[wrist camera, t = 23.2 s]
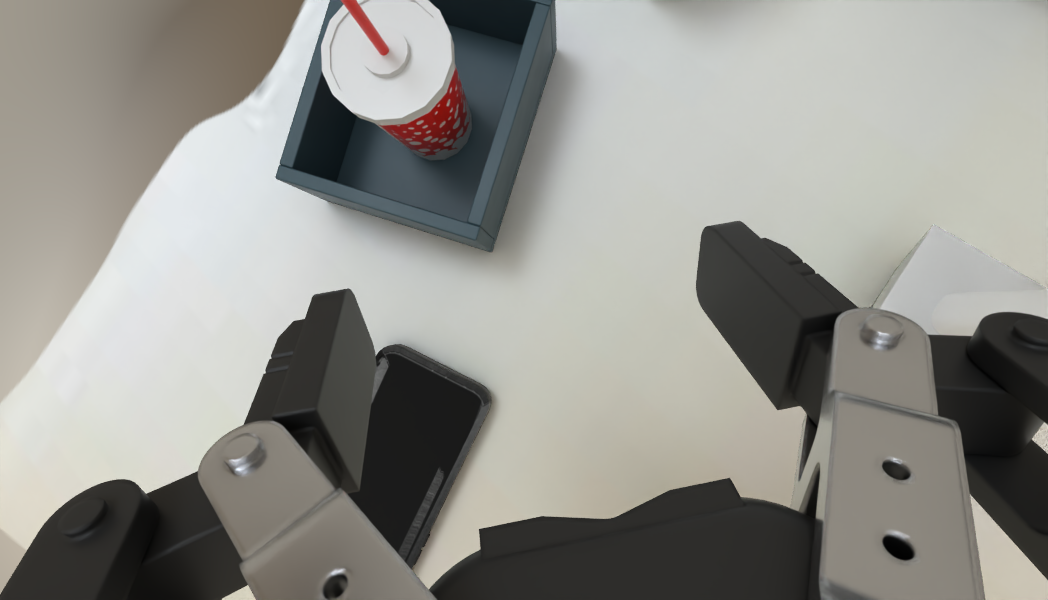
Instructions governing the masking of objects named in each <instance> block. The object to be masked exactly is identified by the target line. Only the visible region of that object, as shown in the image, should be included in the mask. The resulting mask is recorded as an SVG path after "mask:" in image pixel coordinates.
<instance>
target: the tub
mask: <svg viewBox="0 0 1048 600" xmlns="http://www.w3.org/2000/svg"><path fill="white" fill-rule="evenodd" d="M428 1H430V2H431V3H432V4H433V5H434V6H435V7H436V8H437V9H439V10H440V12H441V14H442V16H443V19H444V21H445V23H446V25H447V27H448V29H449V31H450V34H451V36H452V40H453V42H454V56H455V65H456V68H457V71H458V75H459V78H460V81H461V84H462V87H463V90H464V93H465V96H466V100H467V103H468V106H469V109H470V112H471V119H472V130H471V133H470V136H469V138H468V141H467V143H466V144H465V145H464V146H463V148H462V149H461V150H460V151H459V152H458V153H457V154H455V155H453V156H451V157H449V158H447V159H445V160H428V159H425V158H422V157H419V156H417V155H416V154H414V153H413V152H412V151H410V150H409V149H408V148H406V147H405V146H404V145H403V144H401V143H400V142H399V141H397V140H396V139H395V138H393V137H392V136H391V135H389V134H388V133H387V132H385V131H384V130H383V129H381V128H380V127H379V126H378V125H376V124H375V123H373V122H370V121H367V120H364V119H361V118H359V117H357V116H356V115H355V114H353V113H352V112H351V111H350V110H349V109H348V108H347V107H346V106H345V105H343V104H342V103H341V102H340V101H339V100H338V99H337V98H336V97H335V96H334V95H333V94H332V92H331V90H330V88H329V86H328V83H327V81H326V79H325V77H324V75H323V72H322V57H321V44H322V41H323V38H324V36H325V33H326V30H327V27H328V24H329V21H330V20H331V19H332V17H333V16H334V15H335V14H336V13H337V12H338V10H339V9H340V8H341V7H342V6H343V5H344V4H343V3H342V1H341V0H330V2H329V5H328V9H327V12H326V15H325V18H324V22H323V25H322V28H321V31H320V34H319V38H318V41H317V44H316V47H315V51H314V54H313V57H312V60H311V64H310V67H309V70H308V73H307V76H306V80H305V83H304V86H303V89H302V93H301V96H300V99H299V102H298V106H297V109H296V112H295V115H294V118H293V122H292V125H291V128H290V131H289V135H288V138H287V141H286V144H285V147H284V151H283V154H282V157H281V160H280V164H281V165H279V167H278V171H277V174H276V179H278V180H280V181H282V182H285V183H287V184H289V185H292V186H294V187H296V188H298V189H301V190H303V191H305V192H308V193H310V194H312V195H314V196H317V197H319V198H321V199H324V200H326V201H329V202H332V203H335V204H339V205H342V206H345V207H348V208H351V209H354V210H358V211H361V212H364V213H367V214H370V215H374V216H377V217H380V218H383V219H386V220H390V221H393V222H396V223H399V224H402V225H406V226H409V227H412V228H415V229H418V230H421V231H425V232H428V233H431V234H434V235H437V236H441V237H444V238H447V239H450V240H453V241H457V242H460V243H463V244H466V245H469V246H472V247H476V248H479V249H482V250H485V251H488V252H492V251H493V247H494V244H495V241H496V238H497V235H498V232H499V228H500V225H501V222H502V219H503V216H504V213H505V210H506V206H507V203H508V200H509V197H510V194H511V191H512V187H513V184H514V181H515V178H516V175H517V172H518V169H519V165H520V162H521V159H522V156H523V153H524V150H525V146H526V143H527V140H528V137H529V134H530V131H531V128H532V124H533V121H534V118H535V115H536V112H537V109H538V105H539V102H540V99H541V96H542V93H543V90H544V87H545V83H546V80H547V77H548V74H549V71H550V68H551V64H552V61H553V58H554V55H555V52H556V15H555V0H428Z"/></svg>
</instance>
